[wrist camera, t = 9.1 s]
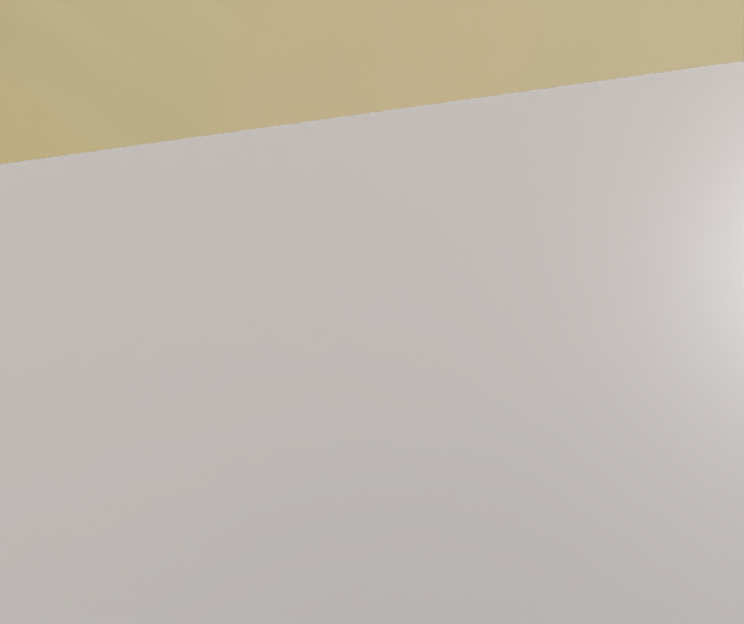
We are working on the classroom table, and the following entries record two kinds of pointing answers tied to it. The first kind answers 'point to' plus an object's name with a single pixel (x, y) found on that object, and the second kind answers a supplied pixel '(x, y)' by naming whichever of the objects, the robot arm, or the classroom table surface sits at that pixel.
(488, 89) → the classroom table surface
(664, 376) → the caddy
